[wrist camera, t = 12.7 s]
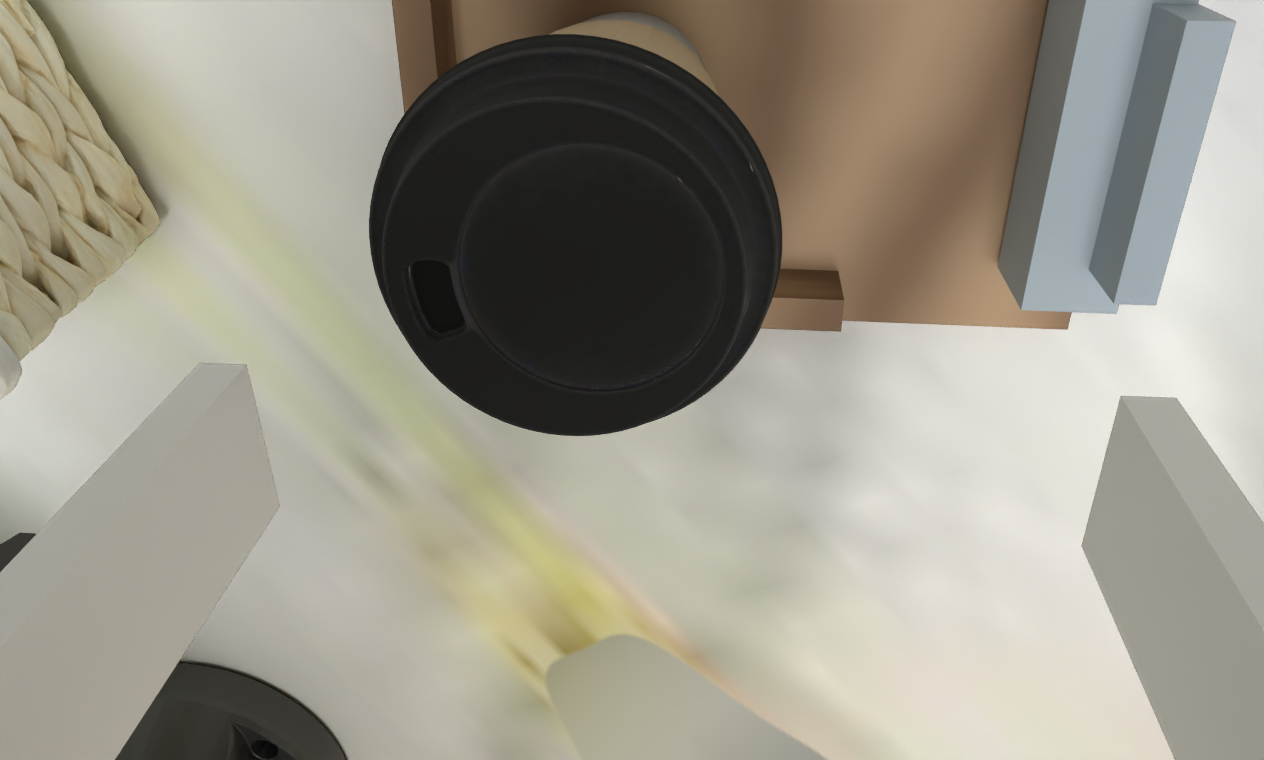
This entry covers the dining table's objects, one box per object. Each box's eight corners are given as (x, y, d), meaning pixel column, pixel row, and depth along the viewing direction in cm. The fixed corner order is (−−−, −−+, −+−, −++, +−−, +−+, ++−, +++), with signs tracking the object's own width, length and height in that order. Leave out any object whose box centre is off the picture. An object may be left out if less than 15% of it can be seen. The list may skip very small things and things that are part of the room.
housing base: (434, 290, 40) (407, 333, 37) (385, -169, 32) (345, -165, 29) (1058, 314, 38) (1087, 362, 35) (1170, -167, 30) (1220, -163, 27)
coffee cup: (434, 73, 35) (254, 239, 22) (651, -117, 31) (589, -53, 18) (609, 277, 38) (541, 527, 25) (823, 126, 34) (874, 326, 22)
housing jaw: (997, 267, 36) (1040, 346, 31) (1062, -71, 31) (1128, -44, 25) (1085, 269, 36) (1142, 350, 31) (1166, -70, 30) (1254, -43, 25)
